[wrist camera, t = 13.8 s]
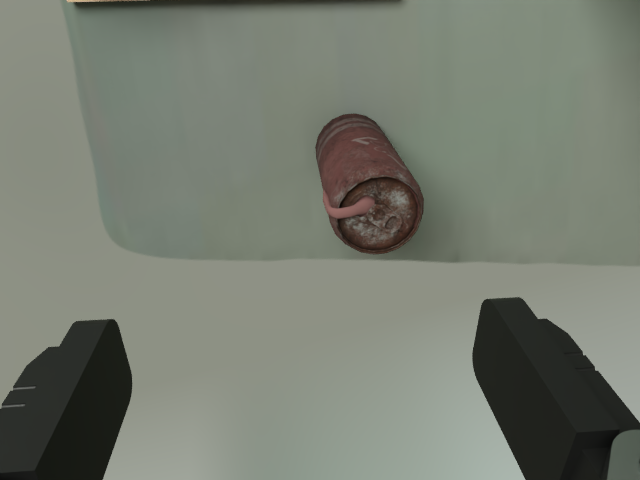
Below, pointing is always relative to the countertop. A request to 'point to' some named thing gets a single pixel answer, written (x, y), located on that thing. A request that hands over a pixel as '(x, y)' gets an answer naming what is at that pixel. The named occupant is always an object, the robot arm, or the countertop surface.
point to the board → (100, 0)
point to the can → (366, 186)
